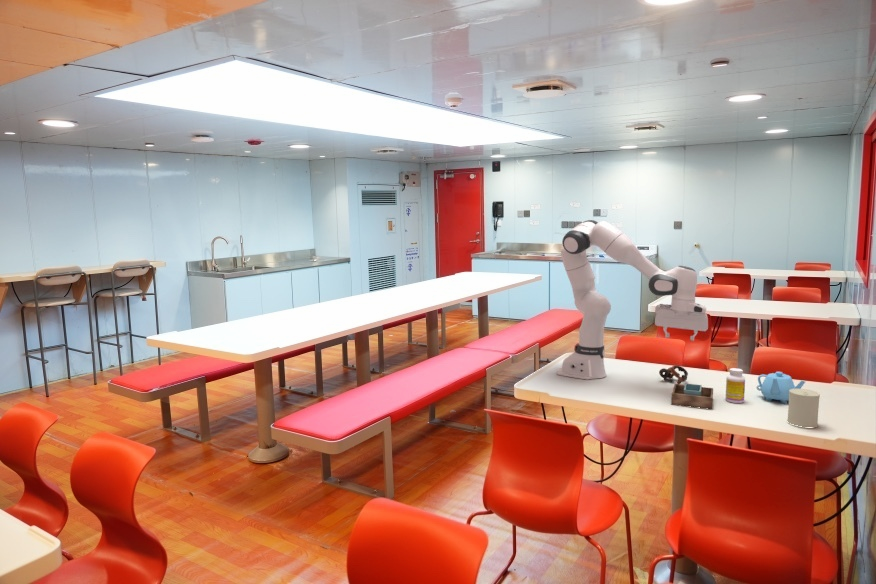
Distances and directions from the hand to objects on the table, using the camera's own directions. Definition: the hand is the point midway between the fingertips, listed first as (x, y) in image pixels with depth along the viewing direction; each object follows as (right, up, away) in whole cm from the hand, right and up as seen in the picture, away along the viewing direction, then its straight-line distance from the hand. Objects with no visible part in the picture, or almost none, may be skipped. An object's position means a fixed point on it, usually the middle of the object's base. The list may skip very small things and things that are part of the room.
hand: (679, 339), depth 237 cm
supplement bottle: (+19, -24, -8) cm, 32 cm away
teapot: (+37, -24, -7) cm, 45 cm away
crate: (+2, -24, -8) cm, 26 cm away
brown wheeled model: (+6, -21, +21) cm, 30 cm away
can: (+29, -27, -34) cm, 52 cm away
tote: (+2, -23, -8) cm, 25 cm away
